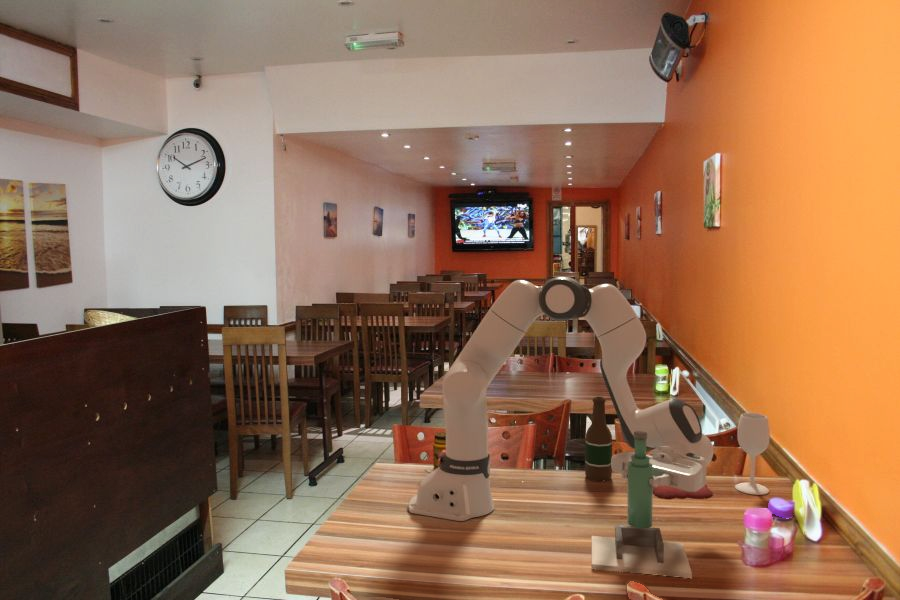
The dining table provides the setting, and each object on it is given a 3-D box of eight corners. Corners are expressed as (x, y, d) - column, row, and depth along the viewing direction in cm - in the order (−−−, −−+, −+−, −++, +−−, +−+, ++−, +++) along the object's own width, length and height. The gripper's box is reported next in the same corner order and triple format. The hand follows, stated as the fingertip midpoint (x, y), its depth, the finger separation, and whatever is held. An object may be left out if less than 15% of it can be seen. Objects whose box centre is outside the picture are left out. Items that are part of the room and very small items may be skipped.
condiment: (440, 478, 194) (440, 438, 193) (424, 470, 200) (424, 432, 200) (460, 473, 198) (459, 434, 197) (444, 466, 205) (443, 428, 204)
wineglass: (730, 484, 187) (731, 412, 185) (760, 484, 187) (762, 412, 185) (742, 495, 178) (744, 419, 177) (774, 495, 178) (777, 419, 176)
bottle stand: (591, 569, 137) (591, 545, 137) (591, 540, 151) (591, 519, 150) (691, 578, 133) (692, 554, 133) (682, 548, 147) (682, 526, 146)
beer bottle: (612, 482, 189) (613, 401, 187) (585, 481, 190) (585, 400, 189) (611, 473, 196) (612, 395, 195) (585, 472, 198) (585, 394, 196)
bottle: (628, 527, 139) (628, 435, 138) (626, 517, 144) (627, 429, 143) (653, 529, 138) (654, 436, 137) (651, 519, 143) (651, 430, 142)
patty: (654, 500, 176) (654, 493, 176) (641, 482, 190) (641, 475, 190) (719, 500, 176) (719, 493, 176) (701, 482, 190) (701, 476, 189)
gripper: (629, 441, 157) (596, 454, 147) (712, 460, 142) (682, 475, 132) (629, 467, 157) (596, 481, 148) (712, 488, 142) (682, 506, 133)
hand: (638, 479), depth 140 cm, fingers closed on bottle, 5 cm apart
